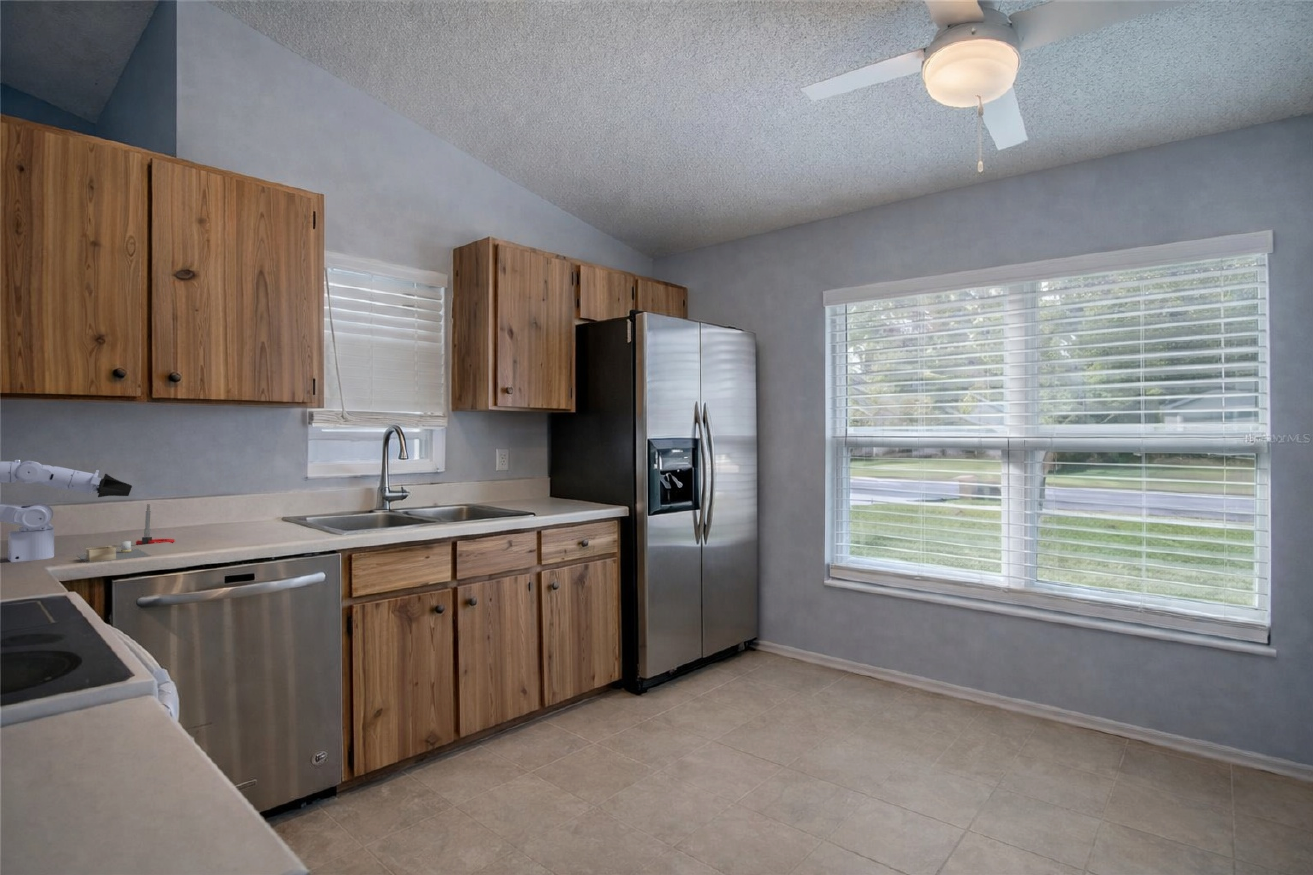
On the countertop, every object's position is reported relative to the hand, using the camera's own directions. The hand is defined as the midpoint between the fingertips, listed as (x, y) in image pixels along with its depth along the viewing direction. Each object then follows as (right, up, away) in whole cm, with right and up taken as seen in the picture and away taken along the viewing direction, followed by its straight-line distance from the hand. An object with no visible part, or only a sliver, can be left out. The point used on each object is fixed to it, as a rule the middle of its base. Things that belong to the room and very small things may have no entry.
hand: (130, 490), depth 201 cm
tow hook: (-6, -18, +18) cm, 27 cm away
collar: (+2, -18, -13) cm, 22 cm away
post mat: (+2, -19, -8) cm, 20 cm away
